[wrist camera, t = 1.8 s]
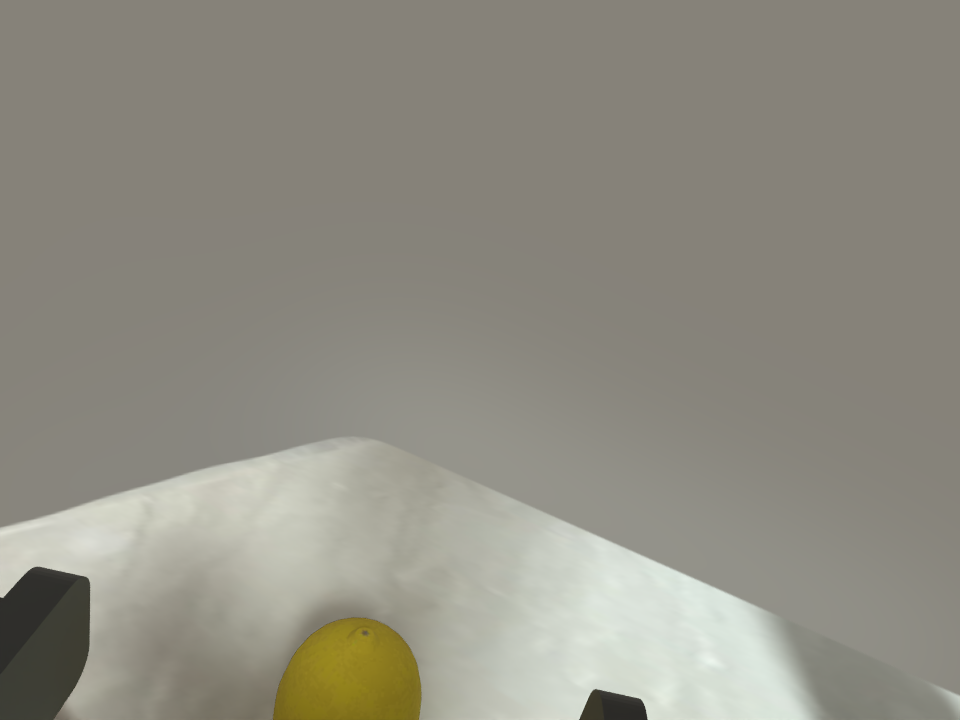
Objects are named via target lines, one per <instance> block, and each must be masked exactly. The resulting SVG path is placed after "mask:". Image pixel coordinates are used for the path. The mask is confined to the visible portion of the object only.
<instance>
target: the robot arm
mask: <svg viewBox="0 0 960 720" xmlns="http://www.w3.org/2000/svg"><path fill="white" fill-rule="evenodd" d="M89 634H90V582H89V579H88V578H87V577H84V576H79V575H75V574H70V573H65V572H61V571H56V570H52V569H47V568H42V567H34V568H32V569H30V570H29V571H28V572H27V573H26V574H25V575H24V576H23V577H22V578H21V579H20V580H19V581H18V582H17V583H16V584H15V586H14V587H13V588H12V589H11V590H10V591H9V592H8V593H7V594H6V595H5V597H4V598H0V720H53V719H54V718H55V716H56V715H57V713H58V712H59V710H60V709H61V707H62V706H63V704H64V703H65V701H66V700H67V698H68V697H69V696H70V694H71V693H72V691H73V689H74V688H75V686H76V684H77V682H78V680H79V678H80V676H81V674H82V672H83V669H84V666H85V664H86V660H87V657H88V652H89ZM579 720H648V719H647V714H646V709H645V706H644V703H643V702H642V700H641V699H639V698H634V697H629V696H625V695H620V694H616V693H611V692H606V691H602V690H597V689H595V690H593V691H592V693H591V694H590V696H589V698H588V701H587V703H586V705H585V708H584V710H583V712H582V714H581V717H580V719H579Z"/></svg>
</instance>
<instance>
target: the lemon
mask: <svg viewBox="0 0 960 720" xmlns="http://www.w3.org/2000/svg"><path fill="white" fill-rule="evenodd" d="M420 706H421V683H420V677H419V671H418V666H417V663H416V660H415V658H414V656H413V654H412V652H411V649H410V648H409V646H408V645H407V643H406V642H405V641H404V640H403V638H402V637H401V636H400V635H399V634H398V633H396V632H395V631H394V630H392V629H391V628H390V627H388V626H387V625H385V624H382V623H380V622H378V621H375V620H371V619H367V618H347V619H341V620H337V621H334V622H332V623H329V624H326V625H325V626H323V627H322V628H320V629H319V630H317V631H316V632H314V633H313V634H311V635H310V636H309V637H308V638H307V640H306V641H305V642H304V643H303V644H302V645H301V646H300V647H299V648H298V650H297V651H296V652H295V654H294V655H293V657H292V659H291V661H290V663H289V665H288V667H287V669H286V671H285V673H284V675H283V677H282V679H281V681H280V684H279V687H278V691H277V695H276V701H275V707H274V714H273V720H419V715H420Z"/></svg>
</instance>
